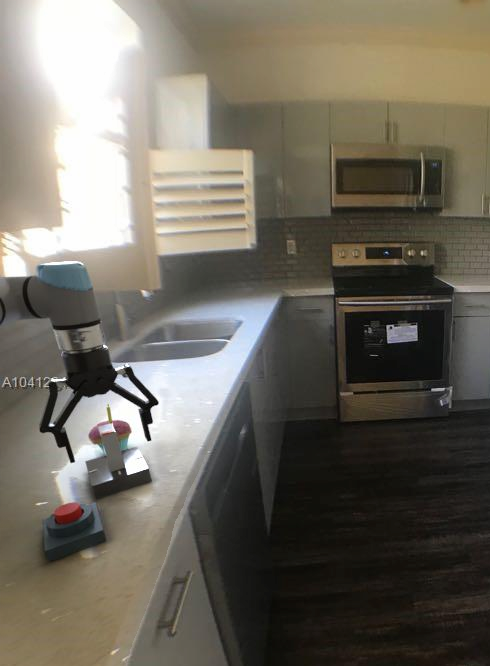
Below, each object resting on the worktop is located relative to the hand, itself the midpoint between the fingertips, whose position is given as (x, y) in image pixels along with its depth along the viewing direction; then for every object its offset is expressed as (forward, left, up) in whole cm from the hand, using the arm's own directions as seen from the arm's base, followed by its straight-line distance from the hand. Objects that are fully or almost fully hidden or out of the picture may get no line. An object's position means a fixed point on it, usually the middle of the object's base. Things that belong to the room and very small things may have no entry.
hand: (111, 449), depth 92 cm
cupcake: (-14, +1, -7) cm, 16 cm away
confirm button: (+16, -9, -3) cm, 19 cm away
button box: (+16, -9, -7) cm, 20 cm away
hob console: (0, 0, -7) cm, 7 cm away
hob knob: (0, 0, -4) cm, 4 cm away
